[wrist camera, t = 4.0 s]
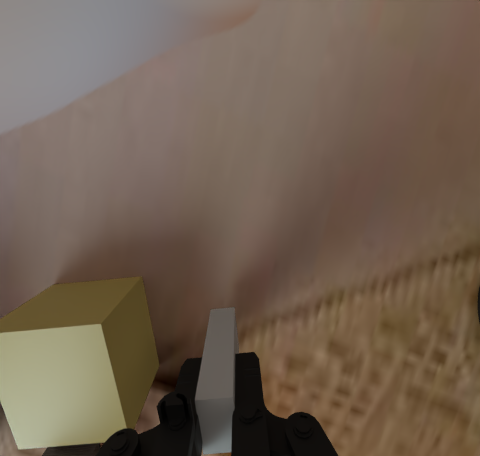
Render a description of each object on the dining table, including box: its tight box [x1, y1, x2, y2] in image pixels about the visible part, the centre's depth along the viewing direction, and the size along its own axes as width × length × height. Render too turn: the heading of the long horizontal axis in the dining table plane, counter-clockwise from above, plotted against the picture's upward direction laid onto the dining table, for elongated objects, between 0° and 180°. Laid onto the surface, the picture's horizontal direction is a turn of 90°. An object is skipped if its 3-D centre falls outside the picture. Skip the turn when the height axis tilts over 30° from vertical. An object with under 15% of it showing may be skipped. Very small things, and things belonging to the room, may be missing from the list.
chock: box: [0, 276, 159, 449], centre depth 16 cm, size 6×7×6 cm
